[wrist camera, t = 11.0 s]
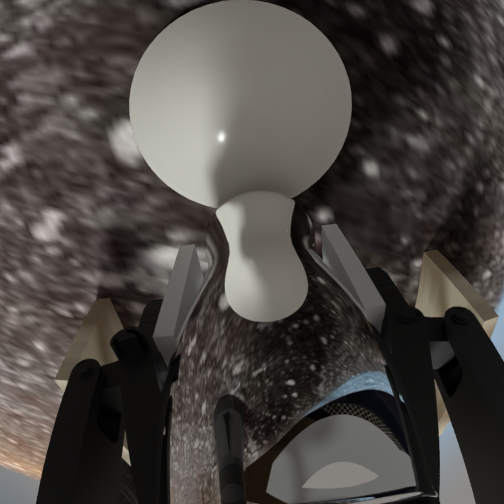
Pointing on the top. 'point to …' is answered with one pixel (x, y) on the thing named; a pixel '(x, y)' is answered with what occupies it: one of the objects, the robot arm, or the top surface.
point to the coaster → (240, 102)
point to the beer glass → (282, 378)
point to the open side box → (428, 302)
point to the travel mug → (126, 485)
